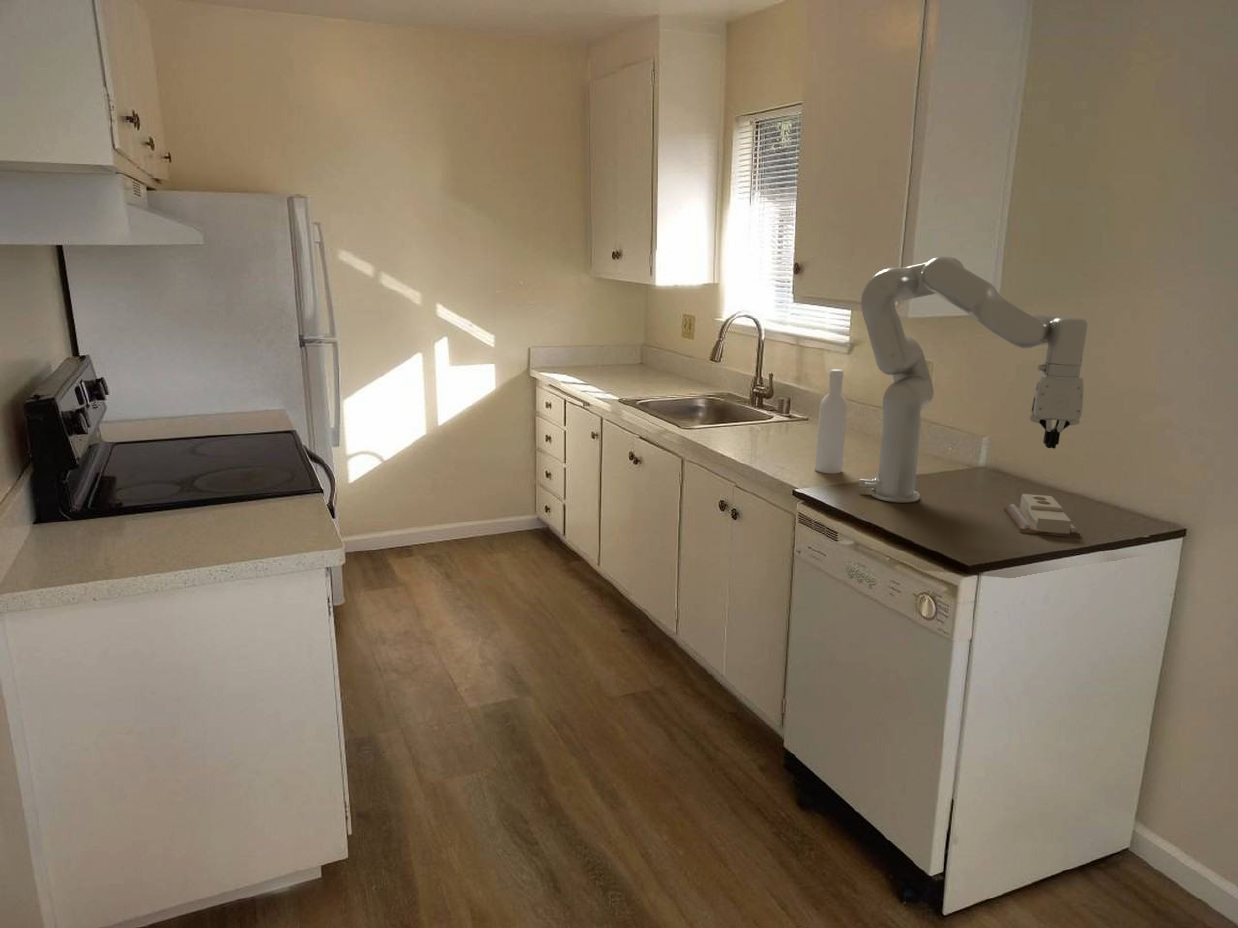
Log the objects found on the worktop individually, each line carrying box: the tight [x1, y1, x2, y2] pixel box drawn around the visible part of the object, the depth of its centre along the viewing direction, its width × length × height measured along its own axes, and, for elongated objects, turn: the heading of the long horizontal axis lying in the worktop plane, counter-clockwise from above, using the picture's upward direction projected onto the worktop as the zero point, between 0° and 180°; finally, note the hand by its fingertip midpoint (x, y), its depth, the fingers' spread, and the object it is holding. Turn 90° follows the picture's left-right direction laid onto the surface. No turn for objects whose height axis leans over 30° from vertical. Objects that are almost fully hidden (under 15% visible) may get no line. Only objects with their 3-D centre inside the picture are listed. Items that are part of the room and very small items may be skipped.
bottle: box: [814, 368, 849, 475], centre depth 252 cm, size 8×8×30 cm
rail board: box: [1003, 503, 1081, 538], centre depth 210 cm, size 13×18×2 cm
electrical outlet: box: [1019, 493, 1072, 534], centre depth 209 cm, size 7×4×18 cm
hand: (1050, 447), depth 206 cm, fingers closed
